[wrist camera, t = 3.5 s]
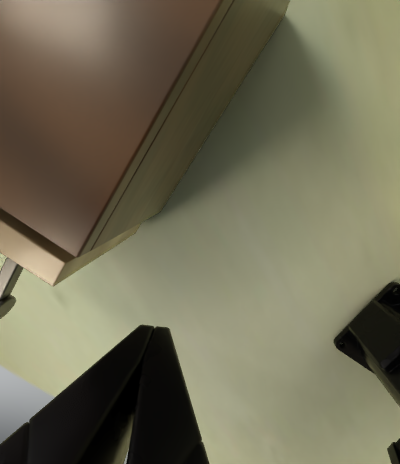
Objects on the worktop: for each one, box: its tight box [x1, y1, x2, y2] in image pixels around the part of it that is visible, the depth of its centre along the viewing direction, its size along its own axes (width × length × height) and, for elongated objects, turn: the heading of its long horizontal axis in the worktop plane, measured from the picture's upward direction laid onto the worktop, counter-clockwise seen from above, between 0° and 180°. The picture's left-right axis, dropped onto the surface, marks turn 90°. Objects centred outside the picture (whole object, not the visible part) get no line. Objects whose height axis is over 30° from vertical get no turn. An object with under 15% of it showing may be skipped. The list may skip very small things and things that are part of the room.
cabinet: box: [0, 0, 290, 258], centre depth 11 cm, size 15×13×11 cm
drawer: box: [0, 208, 142, 319], centre depth 12 cm, size 18×11×9 cm, turn 146°
